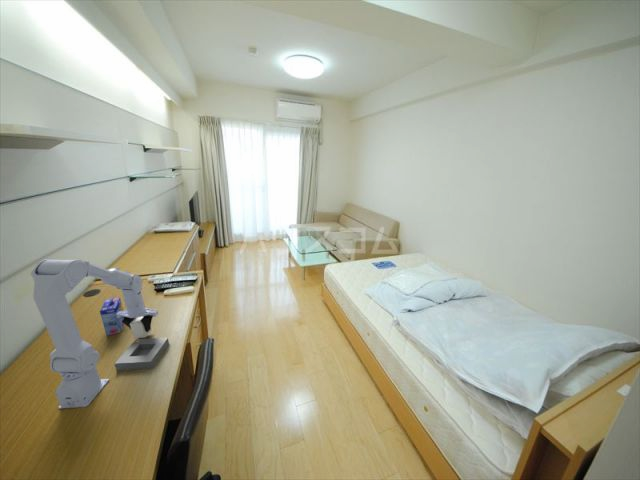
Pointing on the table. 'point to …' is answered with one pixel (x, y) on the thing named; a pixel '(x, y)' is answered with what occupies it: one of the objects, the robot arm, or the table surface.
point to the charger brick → (138, 328)
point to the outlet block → (142, 354)
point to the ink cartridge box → (112, 316)
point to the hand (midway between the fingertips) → (141, 330)
